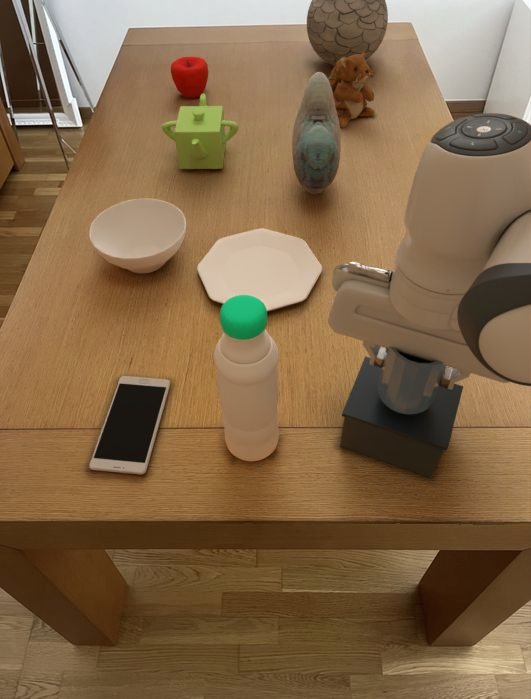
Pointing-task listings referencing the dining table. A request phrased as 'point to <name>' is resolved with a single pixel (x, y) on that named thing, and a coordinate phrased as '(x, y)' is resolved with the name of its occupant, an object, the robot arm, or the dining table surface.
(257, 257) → the plate
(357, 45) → the decorative sphere
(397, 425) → the container
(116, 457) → the smartphone
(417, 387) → the cup
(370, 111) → the stuffed squirrel
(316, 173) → the decorative stone
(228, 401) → the water bottle
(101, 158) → the dining table surface
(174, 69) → the apple
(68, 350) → the dining table surface
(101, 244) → the bowl
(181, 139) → the teapot
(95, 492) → the dining table surface
